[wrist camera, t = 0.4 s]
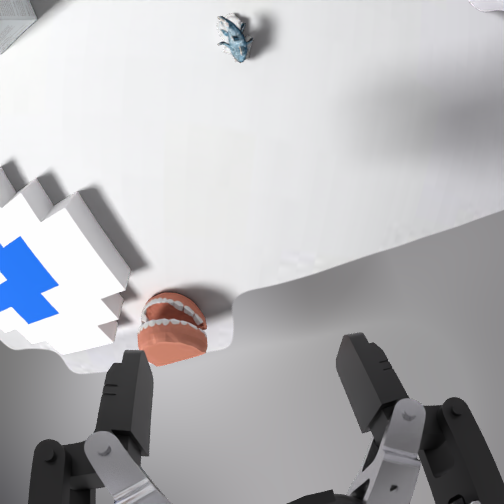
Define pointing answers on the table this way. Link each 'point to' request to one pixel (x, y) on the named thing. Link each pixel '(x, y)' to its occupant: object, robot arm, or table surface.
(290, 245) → the table surface
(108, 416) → the robot arm
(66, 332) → the pixel art tile
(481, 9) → the beer glass
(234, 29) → the sculpture
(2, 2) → the product box
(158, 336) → the dentures
